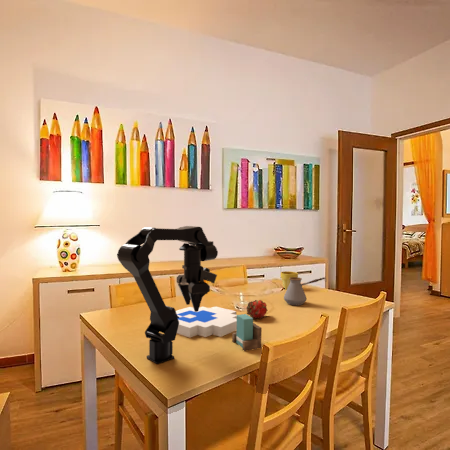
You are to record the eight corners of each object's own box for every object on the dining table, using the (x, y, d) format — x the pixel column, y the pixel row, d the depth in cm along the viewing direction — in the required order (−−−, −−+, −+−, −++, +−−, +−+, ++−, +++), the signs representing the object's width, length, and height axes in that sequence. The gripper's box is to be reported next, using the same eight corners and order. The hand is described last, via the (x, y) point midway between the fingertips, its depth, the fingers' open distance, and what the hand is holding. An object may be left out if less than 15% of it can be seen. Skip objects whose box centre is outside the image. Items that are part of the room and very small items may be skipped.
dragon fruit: (246, 324, 150) (262, 322, 158) (260, 315, 145) (276, 313, 154) (238, 305, 154) (255, 304, 162) (252, 296, 149) (269, 296, 158)
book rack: (244, 351, 117) (244, 330, 117) (232, 341, 126) (232, 321, 125) (261, 348, 120) (261, 327, 119) (248, 338, 128) (248, 319, 128)
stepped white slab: (206, 332, 124) (154, 316, 141) (205, 344, 124) (154, 326, 142) (251, 315, 145) (202, 303, 163) (251, 324, 145) (202, 311, 163)
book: (243, 348, 119) (243, 319, 119) (236, 343, 124) (236, 315, 124) (252, 347, 120) (253, 318, 120) (245, 341, 126) (245, 313, 125)
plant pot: (301, 289, 210) (301, 273, 209) (287, 291, 204) (288, 274, 204) (289, 286, 218) (290, 270, 218) (276, 288, 213) (277, 271, 213)
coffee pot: (279, 304, 176) (280, 274, 176) (288, 299, 186) (289, 271, 185) (321, 311, 165) (322, 279, 164) (329, 305, 174) (329, 275, 174)
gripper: (224, 265, 115) (224, 312, 116) (205, 258, 132) (204, 299, 133) (192, 267, 111) (192, 316, 111) (176, 259, 128) (176, 302, 128)
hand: (192, 307), depth 121 cm, fingers open, 9 cm apart
